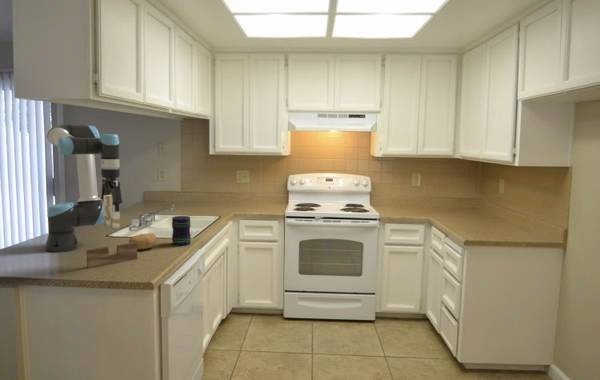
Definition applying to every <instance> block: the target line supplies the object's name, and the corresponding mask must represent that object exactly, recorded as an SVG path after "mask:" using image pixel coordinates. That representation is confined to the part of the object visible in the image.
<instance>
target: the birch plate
mask: <svg viewBox="0 0 600 380" xmlns="http://www.w3.org/2000/svg"><path fill="white" fill-rule="evenodd" d="M103 197H104V201H103V202H104V222H103V225H104V226H107V227H108V226H109V227H110V228H112V229H118V228H121V226H120V225H121V224H120V223H121V221H120V219H121V218H120V219H113V205H112V204H113V203H114V202H113V197H112V194H110V195H103Z"/></svg>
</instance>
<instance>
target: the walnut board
mask: <svg viewBox="0 0 600 380" xmlns="http://www.w3.org/2000/svg"><path fill="white" fill-rule="evenodd" d="M85 252H86V268H87V269H93V268H97V267H102V266H107V265H108V266H109V265H112V264H113V265H114V264H118V263H124V262H128V261H134V260H138V250H137V243H136V242H132V243H129V242H125V243H122V244H121V243H120V244H116V253H113V254H112V253H111V254H110V251H109V247H108V246H102V247H96V248H95V247H94V248H91V249H90V248H89V249H86V251H85Z"/></svg>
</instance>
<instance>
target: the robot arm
mask: <svg viewBox="0 0 600 380" xmlns="http://www.w3.org/2000/svg"><path fill="white" fill-rule="evenodd" d="M46 134H47V135H46V138H47V140H48V142H49V144H51V145H53V146H54V147H57V151H58V153H59V154H60V155H66V156H67V155H70V156H71V155H76V165H77V177H78V188H79V189H78V190H79V199H78V200H77V201H76V203H77V204H75V203H74V202H72V201H71V202H68V201H67V202H59V203H56V204H52V205H50V206H49V207H48V208H47V225H48V226H47V227H48V236H47V239H46V242H45V245H44V249H45V251H46V252H48V253H49V252H51V253H60V252H69V251H73V250H76V249H79V247H80V243H79V240H78V238H77V235H76V232H75V228H81V227H90V226H97V225H101V224H104V197H103V195H112V197H113V202H114V203H113V204H112V205H113V219H121V210H120V209H121V207H120V206H121V204H123V200H122V193H121V192H122V191H121V181H117V178H120V176H121V174H120V169H119V168H120V140H119V135H118V134H114V133H113V134H112V133H111V134H110V133H102V134H100V133H99V130H98V128H96V126H94V125H86V124H58V125H55V126H53V127H51V128H50V129H49V130H48V131H47V133H46ZM95 155H100V161H99V164H100V166H101V167H100V168H102V169H101V170H100V171H101V172H100V173H101V176H100V177H102V179H101V183H102V184H101V193H100V194H101V195H100V196H101V197H99V194H98V181H97V172H96V170H97V169H96V158H95V157H96V156H95ZM103 178H104V179H103ZM102 201H103V202H102Z"/></svg>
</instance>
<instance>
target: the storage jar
mask: <svg viewBox="0 0 600 380" xmlns="http://www.w3.org/2000/svg"><path fill="white" fill-rule="evenodd" d="M171 229H172V235H171V241H172V244H173V245H172V244H171V245H172V246H174V245H177V246H176V247H186V246H189V245H191V238H192V237H191V217H190V216H189V215H188V216H187V215H177V216H172V217H171Z"/></svg>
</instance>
